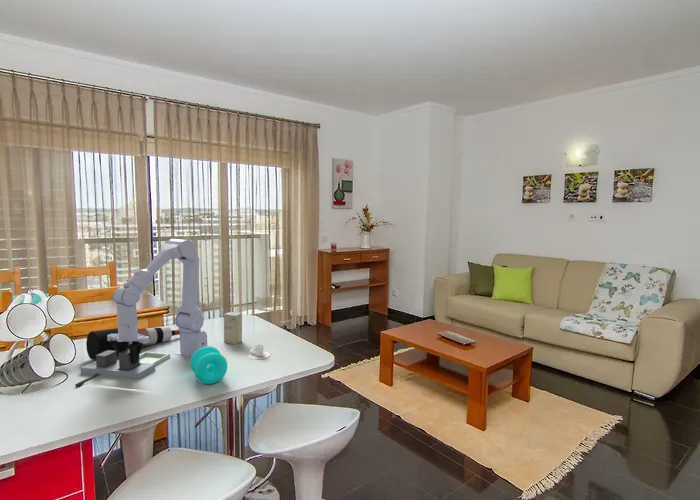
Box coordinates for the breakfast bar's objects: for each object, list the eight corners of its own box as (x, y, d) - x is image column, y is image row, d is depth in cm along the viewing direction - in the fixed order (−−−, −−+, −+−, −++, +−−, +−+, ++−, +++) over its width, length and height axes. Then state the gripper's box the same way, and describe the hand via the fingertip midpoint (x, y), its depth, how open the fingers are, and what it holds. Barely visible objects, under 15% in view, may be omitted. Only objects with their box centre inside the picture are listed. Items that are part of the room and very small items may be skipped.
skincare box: (223, 342, 166) (222, 314, 164) (230, 339, 170) (229, 311, 169) (236, 344, 164) (235, 315, 162) (242, 341, 168) (242, 312, 166)
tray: (170, 358, 148) (169, 353, 148) (151, 369, 138) (150, 364, 138) (145, 356, 150) (145, 351, 150) (125, 366, 140) (125, 361, 140)
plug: (139, 365, 136) (138, 348, 136) (128, 371, 131) (127, 353, 131) (130, 364, 137) (129, 347, 136) (119, 370, 132) (118, 352, 131)
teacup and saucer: (247, 353, 155) (247, 343, 155) (268, 351, 158) (268, 341, 157) (249, 361, 147) (249, 350, 147) (271, 359, 149) (271, 348, 149)
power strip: (155, 370, 137) (154, 352, 136) (119, 391, 121) (118, 371, 121) (100, 365, 141) (99, 347, 141) (59, 385, 126) (57, 365, 125)
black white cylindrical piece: (181, 348, 171) (189, 329, 168) (93, 365, 144) (101, 343, 141) (170, 334, 176) (177, 315, 174) (83, 347, 149) (90, 325, 146)
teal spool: (220, 370, 138) (219, 342, 136) (228, 381, 129) (228, 351, 128) (189, 377, 132) (188, 348, 131) (196, 388, 124) (195, 357, 123)
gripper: (98, 325, 130) (101, 365, 132) (137, 328, 127) (139, 369, 129) (115, 319, 137) (117, 357, 138) (153, 321, 134) (154, 361, 135)
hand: (129, 362), depth 134 cm, fingers closed on plug, 3 cm apart
